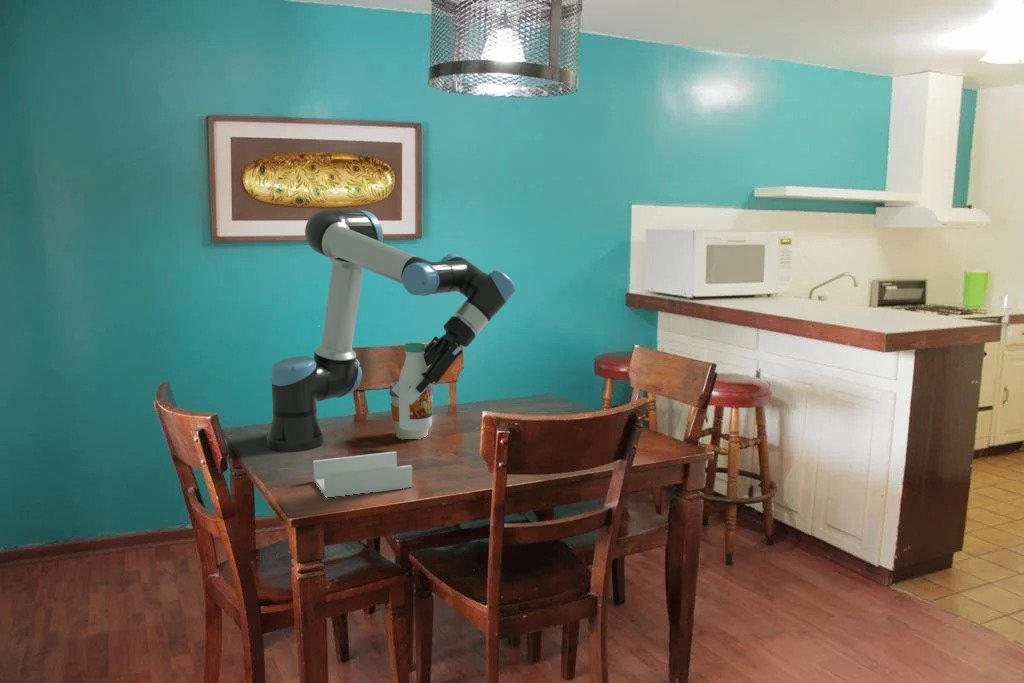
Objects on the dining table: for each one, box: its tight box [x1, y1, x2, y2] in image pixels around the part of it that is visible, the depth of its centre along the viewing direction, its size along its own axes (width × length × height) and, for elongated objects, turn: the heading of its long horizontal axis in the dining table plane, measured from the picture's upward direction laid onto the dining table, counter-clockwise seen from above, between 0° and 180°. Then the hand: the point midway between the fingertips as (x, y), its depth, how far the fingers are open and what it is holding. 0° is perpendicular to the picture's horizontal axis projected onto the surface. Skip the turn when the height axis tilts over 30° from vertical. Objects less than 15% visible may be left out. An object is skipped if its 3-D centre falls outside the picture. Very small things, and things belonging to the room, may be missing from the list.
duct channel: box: [312, 451, 413, 499], centre depth 192 cm, size 13×20×5 cm
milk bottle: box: [398, 342, 433, 431], centre depth 193 cm, size 8×8×20 cm
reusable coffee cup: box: [389, 380, 435, 440], centre depth 234 cm, size 12×13×15 cm
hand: (401, 397), depth 192 cm, fingers closed on milk bottle, 8 cm apart
